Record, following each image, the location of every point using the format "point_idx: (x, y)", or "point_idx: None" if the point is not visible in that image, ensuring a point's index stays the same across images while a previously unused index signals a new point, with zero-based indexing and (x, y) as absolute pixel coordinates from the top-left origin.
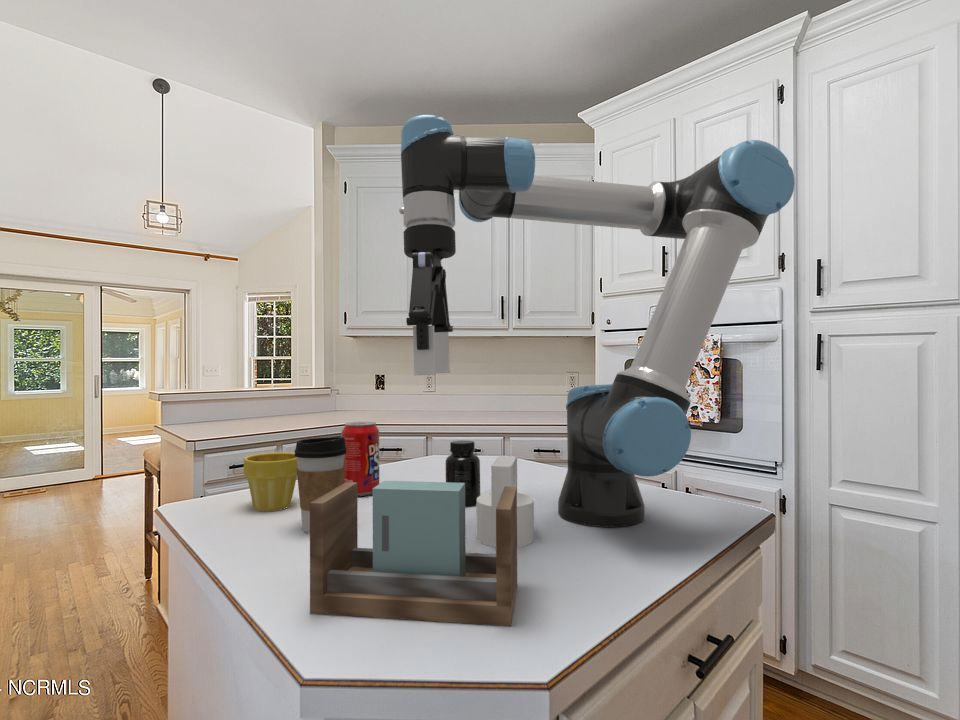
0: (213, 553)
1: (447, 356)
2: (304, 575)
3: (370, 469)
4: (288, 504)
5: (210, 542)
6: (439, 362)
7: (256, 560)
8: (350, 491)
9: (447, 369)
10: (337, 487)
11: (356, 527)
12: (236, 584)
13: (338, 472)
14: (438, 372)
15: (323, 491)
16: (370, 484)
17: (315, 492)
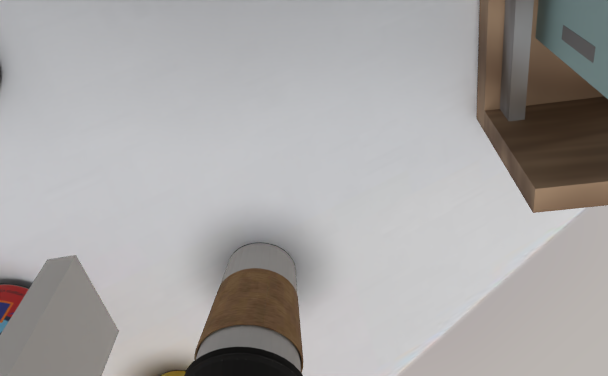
0: (414, 340)
1: (30, 345)
2: (481, 182)
3: (1, 328)
4: (175, 374)
5: (373, 368)
6: (74, 352)
7: (431, 276)
8: (575, 178)
9: (69, 278)
10: (589, 205)
11: (509, 138)
12: (522, 249)
13: (257, 319)
14: (100, 308)
15: (289, 307)
16: (20, 301)
17: (296, 317)
